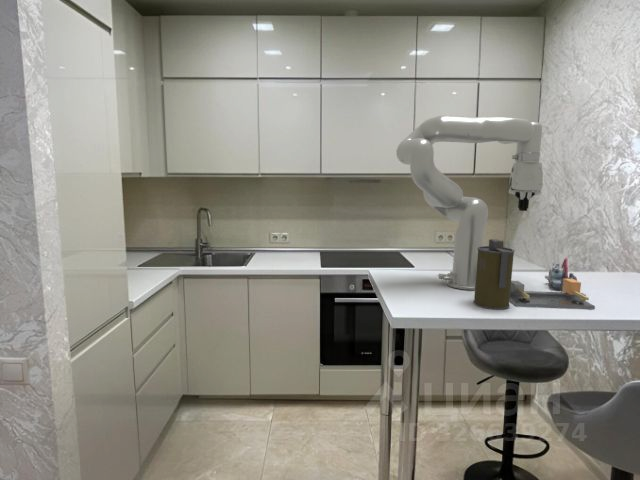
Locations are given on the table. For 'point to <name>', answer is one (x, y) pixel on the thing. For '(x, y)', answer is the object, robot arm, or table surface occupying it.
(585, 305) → the strip
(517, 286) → the fixed leg
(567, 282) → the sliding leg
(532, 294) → the rail
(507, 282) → the canister
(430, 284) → the table surface
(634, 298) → the table surface
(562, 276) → the brake caliper
